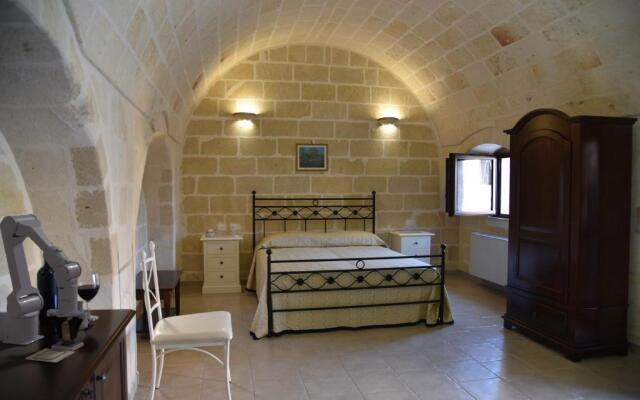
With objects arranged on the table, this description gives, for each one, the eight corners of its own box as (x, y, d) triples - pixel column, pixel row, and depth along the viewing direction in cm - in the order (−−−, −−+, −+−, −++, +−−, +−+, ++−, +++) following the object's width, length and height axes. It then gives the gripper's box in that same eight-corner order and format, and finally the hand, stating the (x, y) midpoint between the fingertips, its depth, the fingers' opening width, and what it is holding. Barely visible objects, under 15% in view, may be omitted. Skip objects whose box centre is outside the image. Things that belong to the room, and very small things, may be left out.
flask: (79, 331, 162) (80, 305, 161) (63, 329, 163) (63, 303, 163) (93, 325, 169) (93, 300, 169) (77, 323, 170) (77, 298, 170)
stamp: (58, 344, 146) (57, 325, 145) (67, 339, 150) (67, 320, 149) (70, 345, 145) (69, 326, 144) (79, 340, 150) (78, 321, 149)
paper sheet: (25, 359, 137) (25, 357, 137) (45, 349, 145) (45, 348, 145) (55, 362, 135) (55, 361, 135) (74, 352, 143) (74, 351, 143)
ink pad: (51, 348, 145) (51, 344, 145) (62, 343, 150) (62, 339, 150) (72, 351, 144) (72, 347, 144) (83, 345, 149) (83, 341, 149)
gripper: (39, 300, 144) (39, 340, 144) (78, 303, 141) (78, 344, 142) (55, 294, 151) (56, 333, 151) (93, 297, 148) (93, 336, 149)
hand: (67, 338), depth 147 cm, fingers closed on stamp, 4 cm apart
